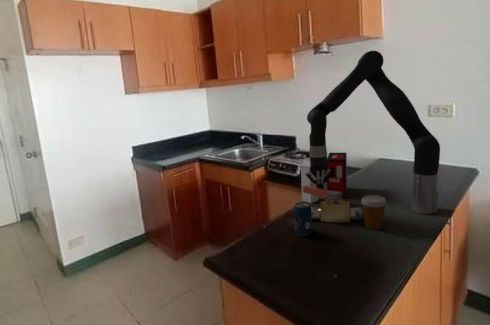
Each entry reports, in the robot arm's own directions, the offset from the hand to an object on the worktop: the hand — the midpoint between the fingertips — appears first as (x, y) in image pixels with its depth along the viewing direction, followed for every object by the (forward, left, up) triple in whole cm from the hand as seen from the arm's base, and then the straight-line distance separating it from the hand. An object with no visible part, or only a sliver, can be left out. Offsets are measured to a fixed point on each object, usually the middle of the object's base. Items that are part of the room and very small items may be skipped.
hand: (319, 191), depth 153 cm
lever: (-1, +5, 0) cm, 5 cm away
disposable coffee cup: (-21, +16, -10) cm, 28 cm away
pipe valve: (-5, +9, -9) cm, 14 cm away
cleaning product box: (-9, -26, -10) cm, 29 cm away
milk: (+5, -14, -10) cm, 18 cm away
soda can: (+7, +23, -10) cm, 26 cm away
